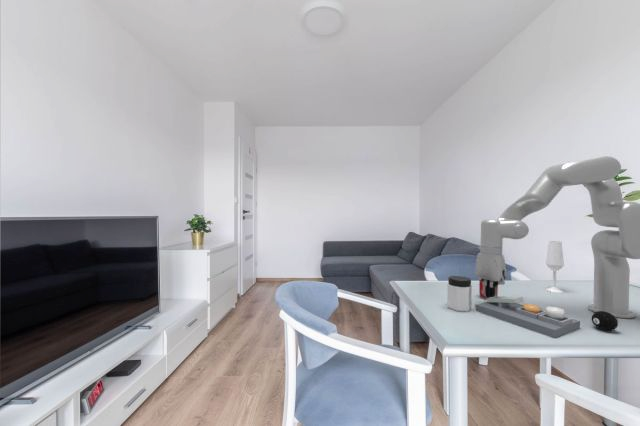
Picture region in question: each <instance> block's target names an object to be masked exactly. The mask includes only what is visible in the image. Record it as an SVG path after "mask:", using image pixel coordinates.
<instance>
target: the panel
mask: <svg viewBox="0 0 640 426" xmlns="http://www.w3.org/2000/svg"><path fill="white" fill-rule="evenodd" d="M475 311H476V312H477V313H480V314H484V315H486V316H489V317H491V318H494V319H495V318H496V319H498V320H500V321H501V320H502V321H504V322H507V323H511V324H513V325H515V326H518V327H522V328H524V329H527V330H530V331H532V332H536V333H539V334H542V335H545V336H547V337H549V338H552V339H553V338H554V339H555V338H558V337H561V336H563V335H566V334H568V333H571V332H575V331H577V330H579V329H581V321H580V320H578V319H574V318H571V317H567V316H564V318H563V319H558V318H552V317H549V316H547V315H546V310H542V309H540V313H537V314H534V313H531V312H528V311H524V304H521V303H519V302H517V303H502V302H487V301H485V302H484V301H483V302H481V303H476V304H475Z"/></svg>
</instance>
